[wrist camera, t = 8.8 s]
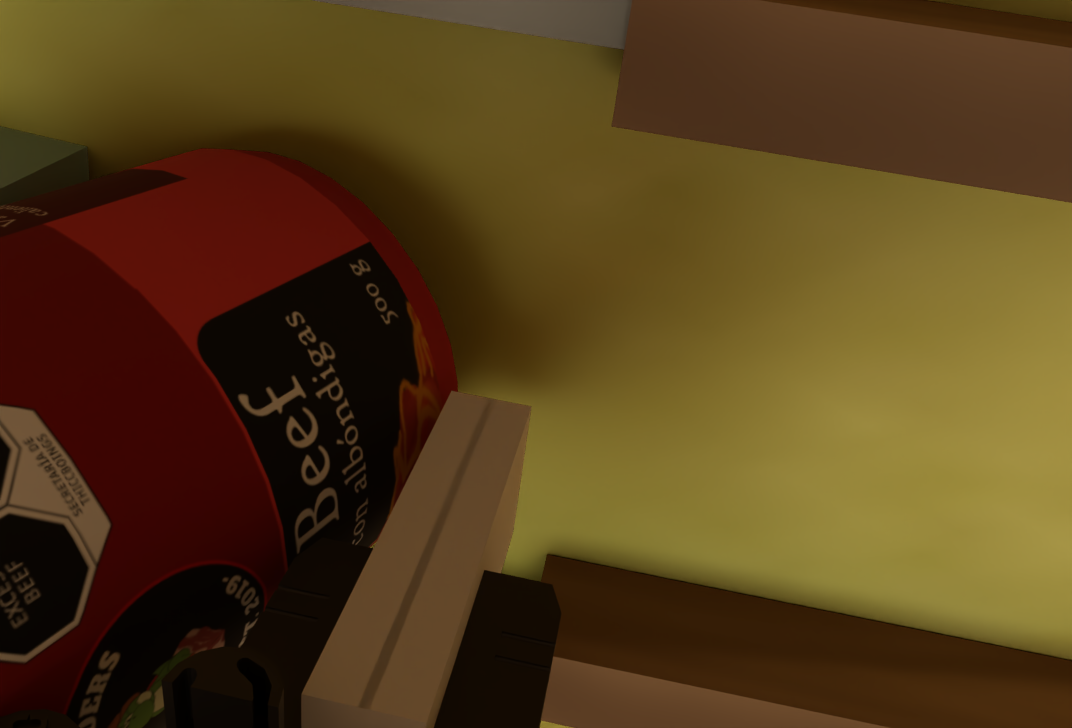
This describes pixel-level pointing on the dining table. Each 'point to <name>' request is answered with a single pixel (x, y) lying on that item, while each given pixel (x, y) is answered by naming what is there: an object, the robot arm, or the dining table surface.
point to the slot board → (860, 141)
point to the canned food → (192, 413)
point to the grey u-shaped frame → (522, 16)
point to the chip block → (38, 165)
